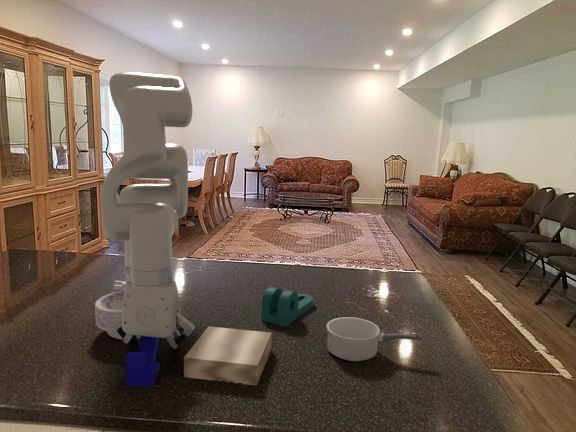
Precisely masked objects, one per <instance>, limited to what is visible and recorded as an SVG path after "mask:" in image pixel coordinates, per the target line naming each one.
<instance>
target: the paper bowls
mask: <svg viewBox="0 0 576 432" xmlns="http://www.w3.org/2000/svg"><path fill="white" fill-rule="evenodd" d="M124 292H125V290H123V291H121V290H119V291H118V290H117V291H116V292H115V291H114V292H112V293H108V294H106V295H103V296H101V297H99V298H98V299H97V300H96V301H95V303H94V314H95V315H94V316H95V317H94V318H95V324H96V327H97V328H99V329H100V330H101V331H105V332H106V333H107V334H108V335H109V337H111V338H114V339H117V340H122V341H123V338H122V337H121V336H120V335H119V334H118V332H117V329H116V328H115V327H114V326H113V324H112V323H111V320H112V319H113V318H115V317H116V316H118V315H119V314H121V313H122V309H123V298H124ZM136 337H138V339H141V336H136Z"/></svg>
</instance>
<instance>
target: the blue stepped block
mask: <svg viewBox="0 0 576 432" xmlns="http://www.w3.org/2000/svg"><path fill="white" fill-rule="evenodd" d="M158 355H159V338H155V337H145V336H141V338H140V341H139V352H128V354H127V355H126V356H125V359H126V361H125V362H126V365H125V366H126V387H153V386H154V384H155V380H156V378H157V376H158V374H159V372H160V369H161V368H160V361H157V357H158ZM156 361H157V362H156Z"/></svg>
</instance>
